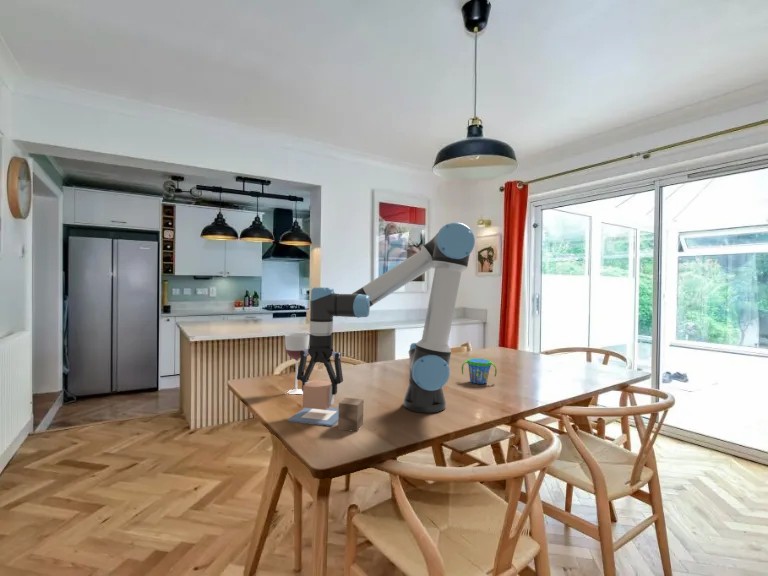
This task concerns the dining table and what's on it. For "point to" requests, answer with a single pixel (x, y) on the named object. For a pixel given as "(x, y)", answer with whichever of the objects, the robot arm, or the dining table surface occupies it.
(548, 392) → the dining table surface
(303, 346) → the wineglass
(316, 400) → the terracotta base
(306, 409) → the board
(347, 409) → the walnut column
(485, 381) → the snack cup
